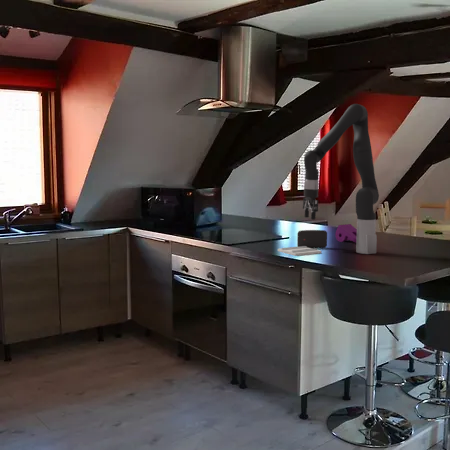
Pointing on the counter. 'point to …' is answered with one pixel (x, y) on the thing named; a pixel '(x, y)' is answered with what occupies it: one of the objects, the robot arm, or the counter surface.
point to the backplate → (289, 251)
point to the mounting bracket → (346, 233)
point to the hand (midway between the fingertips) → (309, 218)
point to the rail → (299, 250)
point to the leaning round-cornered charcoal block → (312, 238)
